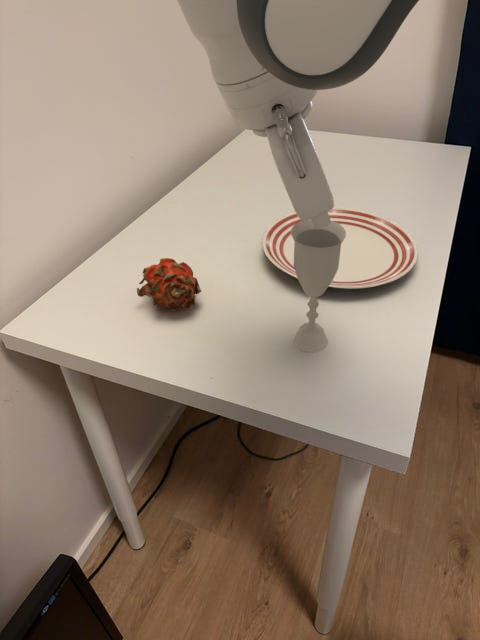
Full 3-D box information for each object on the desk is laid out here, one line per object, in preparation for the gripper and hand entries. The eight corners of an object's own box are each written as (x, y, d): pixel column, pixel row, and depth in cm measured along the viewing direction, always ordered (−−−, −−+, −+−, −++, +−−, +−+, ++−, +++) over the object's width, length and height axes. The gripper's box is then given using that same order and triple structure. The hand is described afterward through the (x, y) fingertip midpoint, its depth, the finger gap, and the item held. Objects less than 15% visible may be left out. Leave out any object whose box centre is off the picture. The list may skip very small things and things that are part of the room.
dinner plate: (423, 232, 94) (427, 217, 92) (403, 316, 75) (407, 299, 73) (288, 212, 103) (289, 198, 101) (239, 282, 84) (239, 266, 81)
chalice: (337, 357, 68) (350, 247, 57) (288, 358, 69) (292, 248, 57) (330, 324, 74) (341, 217, 63) (286, 324, 74) (289, 219, 63)
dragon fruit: (194, 330, 77) (152, 307, 85) (222, 284, 77) (177, 265, 85) (159, 308, 70) (117, 285, 78) (189, 258, 71) (144, 240, 79)
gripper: (324, 119, 38) (365, 244, 47) (284, 35, 52) (321, 145, 61) (250, 154, 39) (304, 268, 49) (230, 63, 53) (275, 166, 63)
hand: (313, 199), depth 55 cm, fingers open, 8 cm apart
